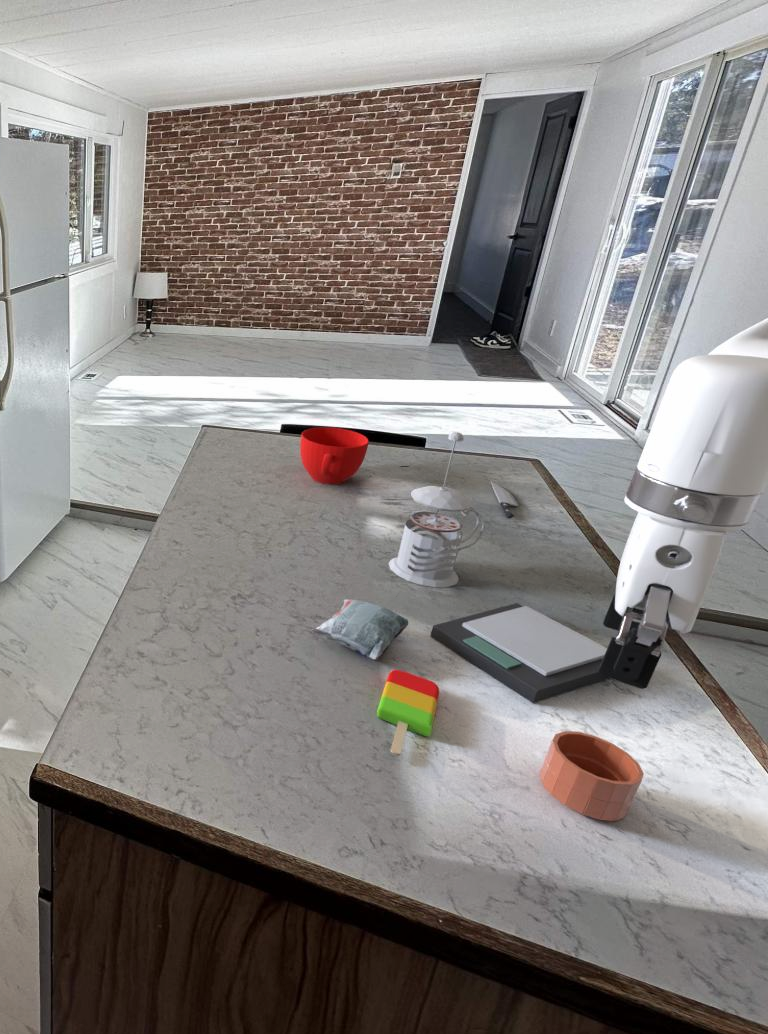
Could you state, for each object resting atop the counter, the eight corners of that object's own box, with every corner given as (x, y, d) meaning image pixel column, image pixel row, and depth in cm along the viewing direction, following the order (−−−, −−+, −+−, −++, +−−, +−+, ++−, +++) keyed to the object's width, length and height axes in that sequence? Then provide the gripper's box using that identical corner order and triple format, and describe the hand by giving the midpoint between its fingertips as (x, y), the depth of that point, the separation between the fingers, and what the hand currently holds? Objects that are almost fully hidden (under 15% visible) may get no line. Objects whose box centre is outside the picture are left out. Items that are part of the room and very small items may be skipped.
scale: (513, 613, 96) (517, 599, 95) (624, 674, 84) (631, 658, 83) (429, 636, 92) (433, 621, 91) (533, 703, 80) (539, 687, 79)
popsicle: (438, 694, 82) (441, 682, 81) (422, 771, 72) (425, 758, 71) (388, 676, 85) (391, 665, 85) (365, 747, 75) (368, 735, 74)
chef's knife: (507, 485, 136) (489, 482, 137) (508, 480, 135) (491, 477, 137) (525, 523, 120) (505, 519, 122) (527, 517, 120) (507, 514, 121)
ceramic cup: (287, 490, 139) (293, 447, 135) (300, 463, 152) (306, 423, 148) (355, 502, 132) (363, 458, 128) (363, 473, 145) (371, 432, 141)
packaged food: (309, 643, 92) (315, 615, 90) (344, 609, 99) (350, 582, 97) (375, 674, 86) (382, 644, 84) (407, 636, 93) (415, 608, 91)
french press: (379, 554, 113) (408, 421, 104) (453, 558, 111) (489, 422, 102) (402, 585, 104) (436, 442, 95) (483, 590, 102) (526, 444, 93)
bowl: (568, 762, 72) (583, 724, 70) (642, 813, 66) (660, 773, 63) (522, 778, 70) (536, 740, 68) (594, 832, 64) (611, 792, 62)
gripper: (766, 549, 48) (681, 724, 54) (743, 477, 59) (675, 629, 66) (627, 519, 53) (564, 682, 59) (630, 458, 64) (577, 601, 71)
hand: (622, 654), depth 62 cm, fingers open, 9 cm apart
